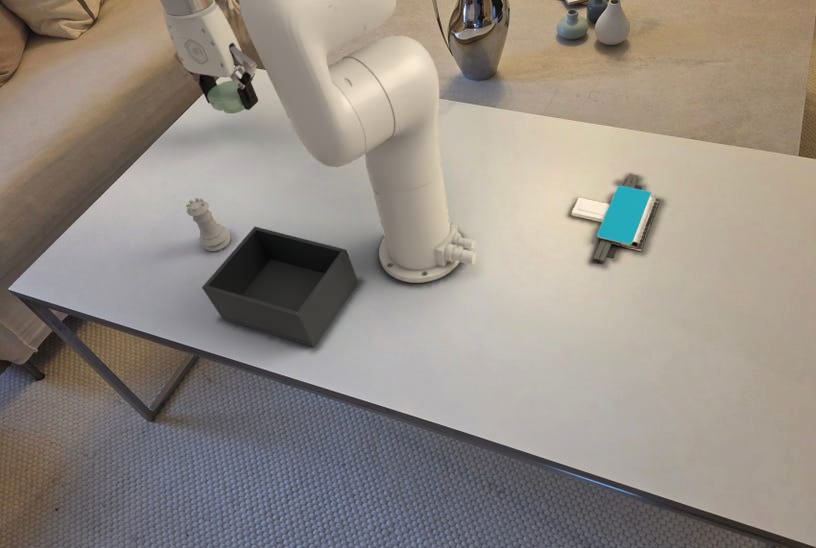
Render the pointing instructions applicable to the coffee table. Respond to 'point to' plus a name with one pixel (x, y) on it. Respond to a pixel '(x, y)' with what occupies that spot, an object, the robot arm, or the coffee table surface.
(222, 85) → the green round disc
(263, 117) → the coffee table surface
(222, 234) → the rook chess piece
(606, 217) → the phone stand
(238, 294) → the tub
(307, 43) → the robot arm
